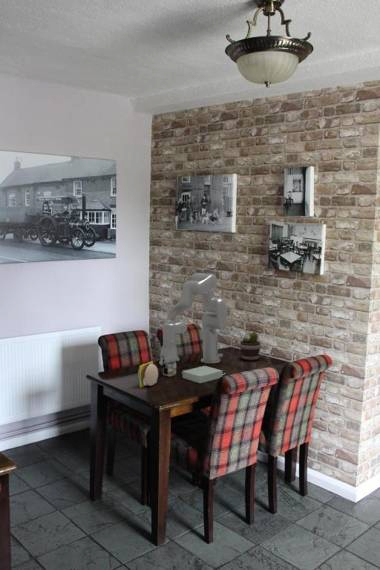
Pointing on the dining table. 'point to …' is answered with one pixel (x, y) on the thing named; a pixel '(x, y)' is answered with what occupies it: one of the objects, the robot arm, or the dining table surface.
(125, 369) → the dining table surface
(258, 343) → the flowerpot
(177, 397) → the dining table surface
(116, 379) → the dining table surface
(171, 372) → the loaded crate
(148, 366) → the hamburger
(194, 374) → the dock
